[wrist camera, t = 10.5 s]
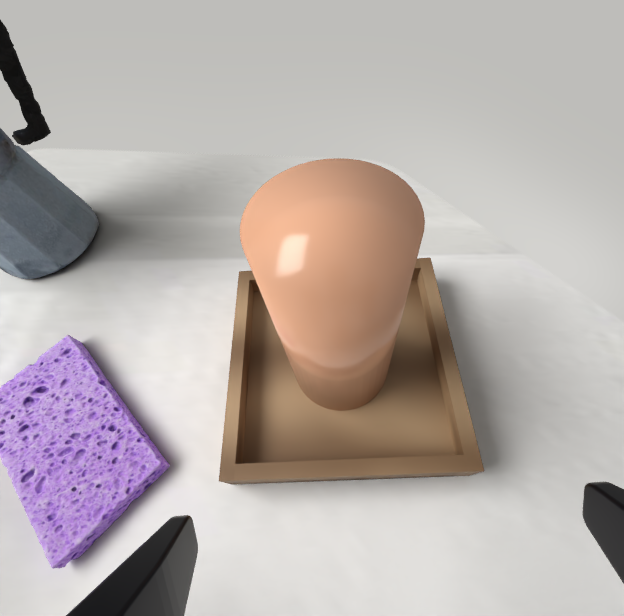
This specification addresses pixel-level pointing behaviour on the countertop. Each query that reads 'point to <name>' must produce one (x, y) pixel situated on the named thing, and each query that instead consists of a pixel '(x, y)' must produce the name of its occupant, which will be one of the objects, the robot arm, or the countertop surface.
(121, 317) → the countertop surface
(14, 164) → the moka pot
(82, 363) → the sponges
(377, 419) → the walnut tray
